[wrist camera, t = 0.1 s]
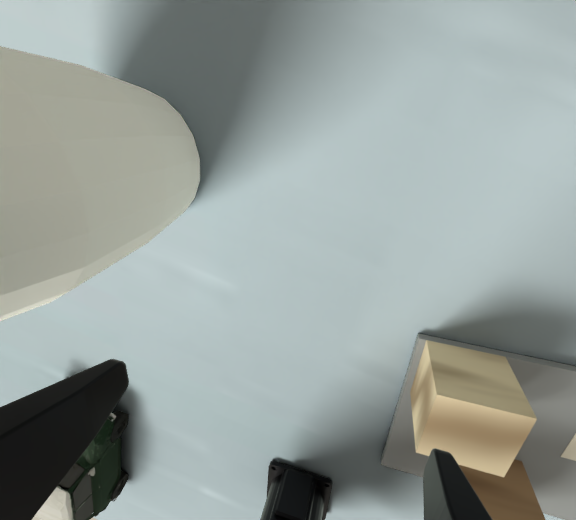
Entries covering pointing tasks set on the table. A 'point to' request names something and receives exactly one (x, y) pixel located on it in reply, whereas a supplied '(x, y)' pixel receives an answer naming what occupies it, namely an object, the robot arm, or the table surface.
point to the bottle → (81, 175)
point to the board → (539, 443)
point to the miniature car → (91, 477)
